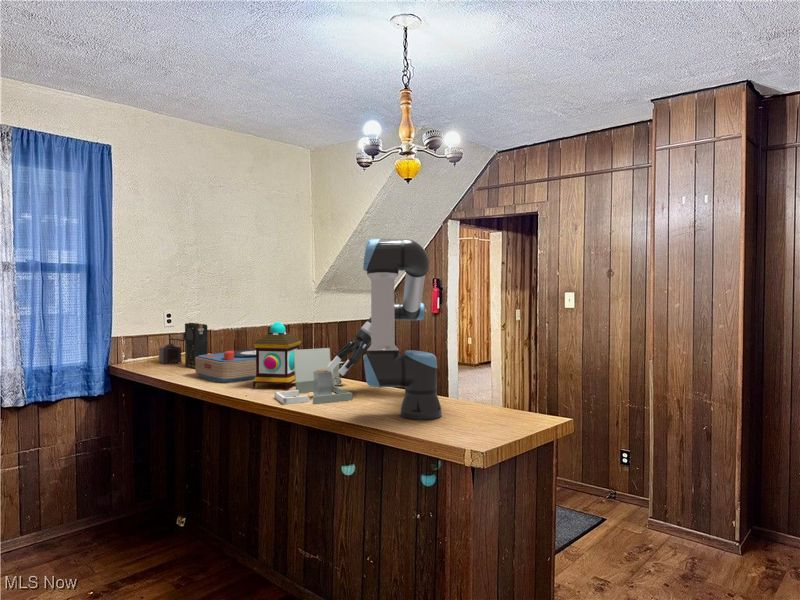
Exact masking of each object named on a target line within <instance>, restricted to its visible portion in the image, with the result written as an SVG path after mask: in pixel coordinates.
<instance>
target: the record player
mask: <svg viewBox="0 0 800 600" xmlns="http://www.w3.org/2000/svg"><path fill="white" fill-rule="evenodd" d="M195 364H196V369H195V373H196V374H197V377H198V378H201V377H202V379H204V380H205V379H206V380H210V381H213V380H214V382H217V383H221V382H222V383H221V384H230V383H229V382H231V383H238V381H239V382H245V381H244V380H246V381H251V379H253V380H254V379H255V377H256V348H251V349H250V348H249V349H241V350H227V351H224V352H219V353H218V352H217V353H208V354H206V355H199V356H198V357H195Z"/></svg>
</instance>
